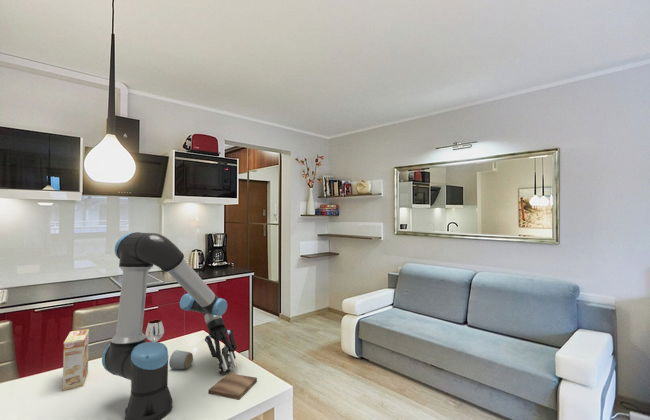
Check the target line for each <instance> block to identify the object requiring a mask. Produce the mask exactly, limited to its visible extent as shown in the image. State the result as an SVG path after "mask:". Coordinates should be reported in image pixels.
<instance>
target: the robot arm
mask: <svg viewBox="0 0 650 420" xmlns="http://www.w3.org/2000/svg"><path fill="white" fill-rule="evenodd" d="M114 254H115V256H116V257H117V258H118V259H119V263H118V267H119V268H120V269H121V271H122V277H121V278H122V279H121V287H120V295H119V305H118V312H117V313H118V314H117V321H116V330H115V331H116V332H115V335H114V336H113V337H112V338H111V339H110V343H109V344H108V345H107V348H105V349H104V351H103V352H102V357H101V363H102V366H103V368H104V369H105V371H107V372H108V373H110V374H111V375H114V376H118V377H121V378H123V379H125V380H128V381H130V397H129V399H128V403H127V406H126V408H125V410H124V411H125V412H124V420H162V419H163V418H165V417H166V416H167V415H169V413H171V411H172V409H173V402H174V401H173V396H172V395H171V391H170V389H169V386H168V385H169V383H168V381H169V380H168V377H169V374H168V373H169V352H168V351H169V350H168V347H167V346H166V345H165V344H164V343H162V342H160V341H159V342H158V341H157V342H152V341H148V342H147V341H146V339H147V338H146V335H145V333H143V325H144V317H145V316H144V315H145V307H146V306H145V305H146V299H147V298H146V296H147V287H148V277H149V276H148V275H149V271H150V270H151V269H152V268H154V266H156V267H158V268H159V269H160V270H161V271H162V272H164V273H168V274H169V275H170V276H171V277H172V278H173V279H174V281H176V282H177V283H178V284H179V285H180V287H182V288H183V289H184V291H186V293H185V294H183V295H182V296H181V298H180V301H179V307H180V310H182V311H186V312H190V311H191V312H194V313H199V314H203V318H204V322H205V324H206V328H207V331H208V332H209V333H208V335H206V336H205V338H204V341H205V342H206V344H207V347H208V349H209V351H210V355H211V357H212V358H213V359H214V358H215V359H217V361H218V364H222V367H223V370H224V372H225V371H226V370H227V369H228V368H227V365H226V362H225V359H224V356H223V355H222V349H221V344H220V341H221V342H223V344H224V346H226V347H227V348H228V354H229V356H228V359H229V361H230V362H231V367H232V369H235V368H236V367H237V362H236V358H237V357H236V354H235V351H236V350H237V347H238V346H237V343H236V340H235V337H234V330H233V329H227V327H226V324H225V322H224V319H223V315H224V314H225V313H226V312H227V309H228V302H227V300H226V299H225V298H221V297H218V296H217V295H216V294H215V293H214V291H213V290H212V289H211V288H210V287H209V285H207V284H206V282H205V281H204V280H203V279H202V277H200V275H199V274H198V273H197V272H196V271H195V270H194V269H193V267H192V266H191V265H190V264H189V263H188V262H187V261H186V259H185V254H184V252H182V250H180V249H179V247H178V246H177V245H176V244H175V243H173V241H171V239H169V238H168V237H167V236H164V235H162V234H160V233H156V232H138V231H137V232H129V233H126V234H124V235H122V236H120V237H119V239H117V241H116V243H115V245H114ZM212 340H213V341H212Z"/></svg>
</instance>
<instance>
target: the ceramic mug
mask: <svg viewBox="0 0 650 420" xmlns="http://www.w3.org/2000/svg"><path fill="white" fill-rule="evenodd" d="M193 362H194V356H193V353H192V352H189V351H185V350H179V349H176V350H173V352H172V353H171V354H170V357H169V360H168V367H170V368H171V369H177V370H178V369H181V370H186V369H189V368H190V367H191V365H192V363H193Z"/></svg>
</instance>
